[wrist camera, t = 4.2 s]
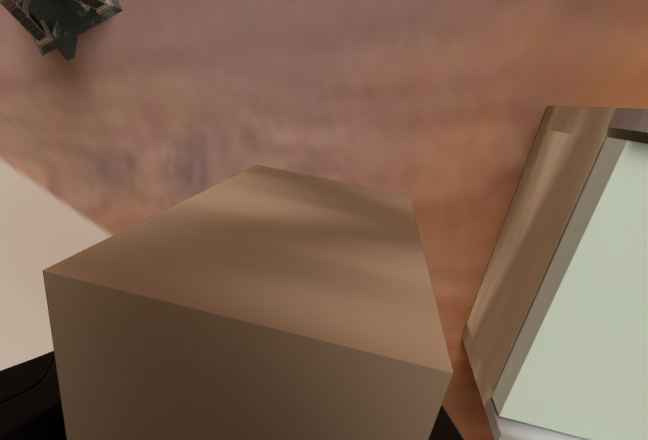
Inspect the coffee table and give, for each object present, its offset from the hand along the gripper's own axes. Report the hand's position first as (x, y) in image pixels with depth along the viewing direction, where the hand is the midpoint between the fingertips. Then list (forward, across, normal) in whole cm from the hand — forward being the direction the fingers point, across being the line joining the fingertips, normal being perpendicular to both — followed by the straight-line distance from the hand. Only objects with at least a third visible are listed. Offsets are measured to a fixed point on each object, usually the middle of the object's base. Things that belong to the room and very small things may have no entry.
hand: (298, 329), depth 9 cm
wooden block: (+2, 0, 0) cm, 2 cm away
